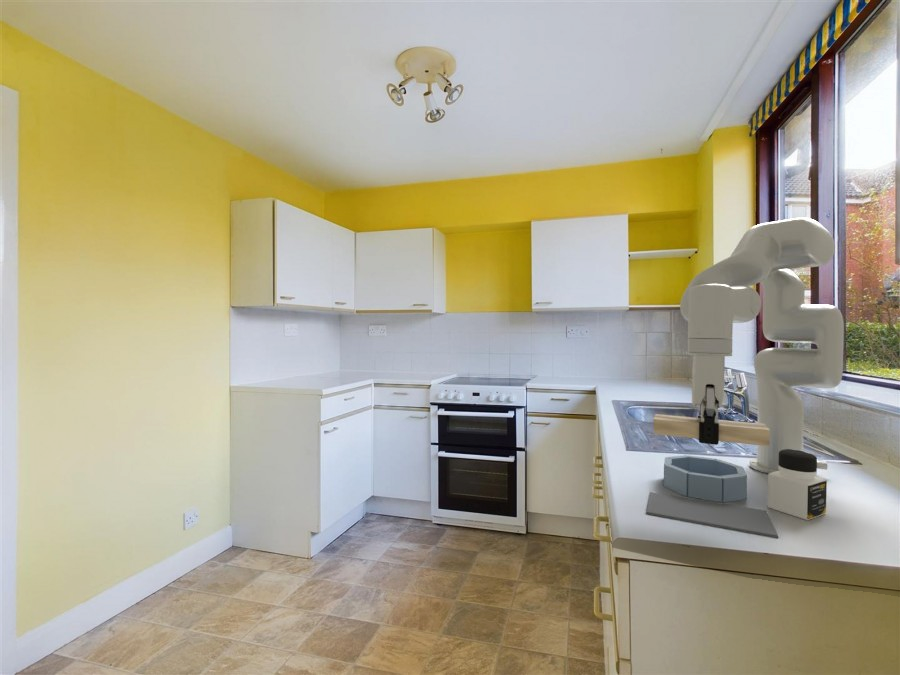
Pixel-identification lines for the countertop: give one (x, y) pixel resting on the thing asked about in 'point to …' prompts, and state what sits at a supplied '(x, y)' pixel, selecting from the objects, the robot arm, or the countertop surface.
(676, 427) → the oak board
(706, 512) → the rubber mat
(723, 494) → the ceramic bowl
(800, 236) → the robot arm
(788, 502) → the medicine bottle
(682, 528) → the countertop surface
